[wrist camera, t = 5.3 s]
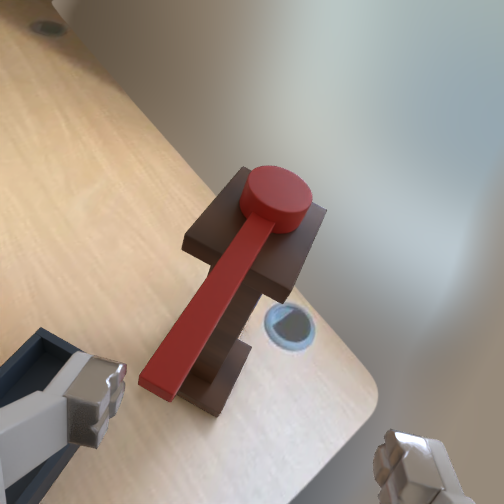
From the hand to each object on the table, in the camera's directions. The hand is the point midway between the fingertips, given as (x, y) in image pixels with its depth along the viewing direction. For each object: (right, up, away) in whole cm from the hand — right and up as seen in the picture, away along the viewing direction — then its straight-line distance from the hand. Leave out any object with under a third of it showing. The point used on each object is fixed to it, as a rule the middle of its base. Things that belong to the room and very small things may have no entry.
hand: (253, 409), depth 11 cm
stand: (-6, -9, +32) cm, 34 cm away
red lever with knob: (-1, +4, +10) cm, 10 cm away
